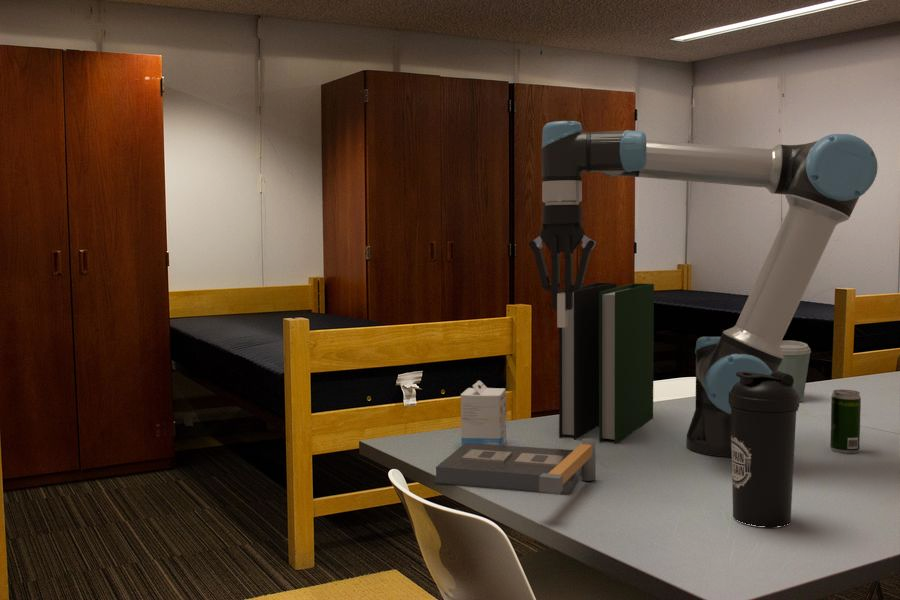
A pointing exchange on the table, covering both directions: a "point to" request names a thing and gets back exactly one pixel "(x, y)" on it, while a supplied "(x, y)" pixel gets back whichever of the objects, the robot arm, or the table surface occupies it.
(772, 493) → the water bottle
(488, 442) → the ink box
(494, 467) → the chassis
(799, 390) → the disposable coffee cup
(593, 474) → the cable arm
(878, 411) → the table surface
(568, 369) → the books
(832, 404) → the beer can
